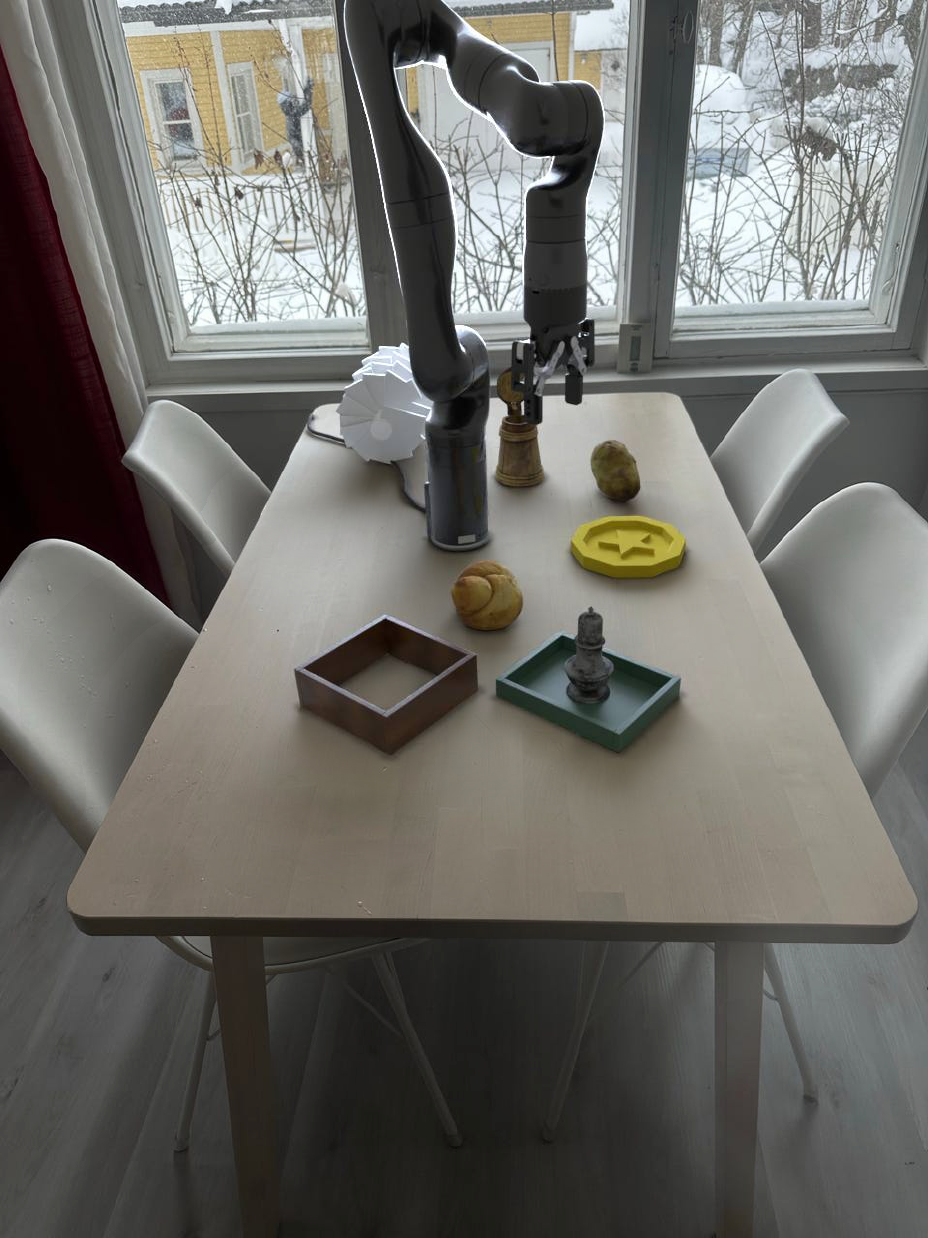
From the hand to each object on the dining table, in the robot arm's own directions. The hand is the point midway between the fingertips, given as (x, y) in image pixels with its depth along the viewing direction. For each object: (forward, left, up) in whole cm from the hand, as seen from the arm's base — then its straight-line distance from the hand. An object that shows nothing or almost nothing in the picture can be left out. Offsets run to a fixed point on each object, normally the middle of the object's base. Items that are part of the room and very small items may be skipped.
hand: (553, 413), depth 116 cm
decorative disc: (0, +20, -28) cm, 35 cm away
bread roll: (-6, -7, -28) cm, 30 cm away
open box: (-3, -30, -28) cm, 41 cm away
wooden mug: (-33, +35, -28) cm, 56 cm away
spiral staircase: (-62, +31, -28) cm, 75 cm away
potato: (-14, +38, -28) cm, 49 cm away
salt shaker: (+16, -15, -28) cm, 35 cm away
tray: (+16, -15, -28) cm, 36 cm away
